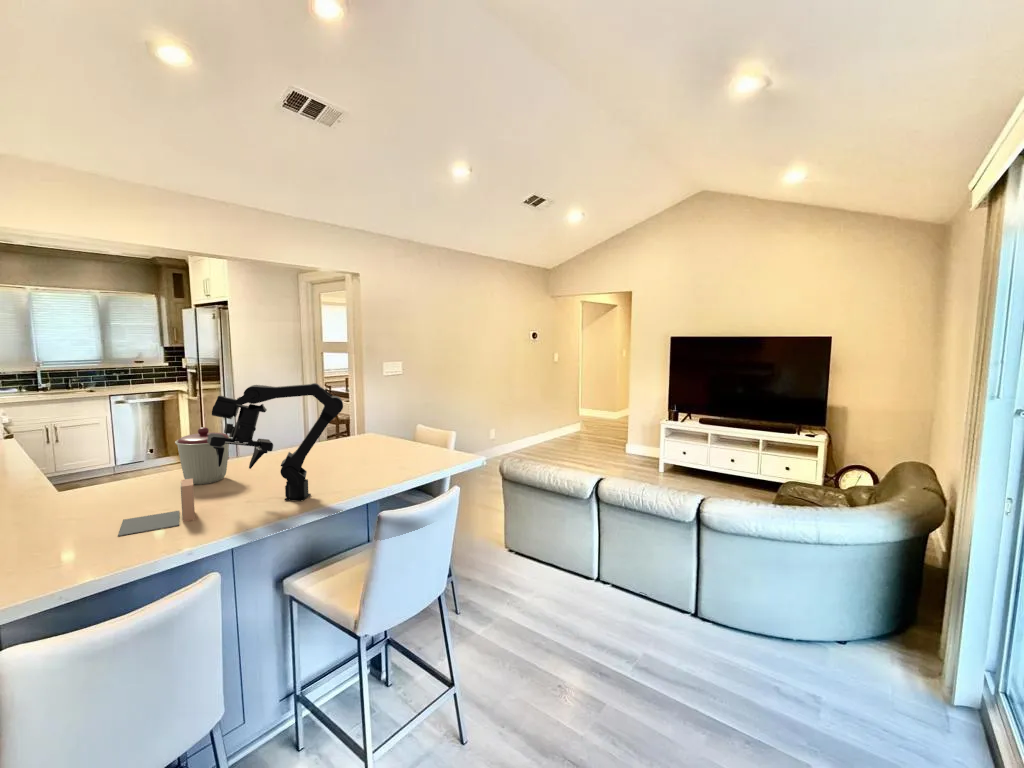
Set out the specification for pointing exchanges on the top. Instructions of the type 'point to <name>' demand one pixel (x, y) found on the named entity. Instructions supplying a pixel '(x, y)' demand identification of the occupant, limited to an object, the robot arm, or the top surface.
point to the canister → (201, 458)
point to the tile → (187, 500)
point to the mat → (149, 523)
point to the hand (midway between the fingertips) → (234, 467)
